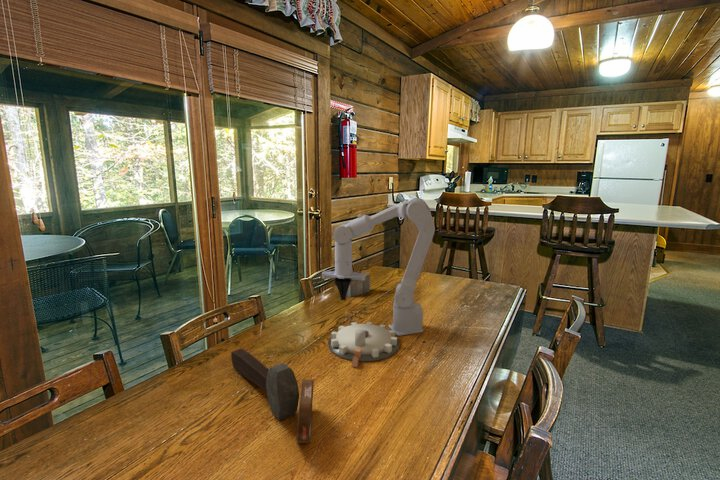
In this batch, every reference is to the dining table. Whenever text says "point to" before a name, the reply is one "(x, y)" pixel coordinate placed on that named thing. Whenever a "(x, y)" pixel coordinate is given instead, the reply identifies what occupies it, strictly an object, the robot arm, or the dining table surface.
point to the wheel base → (363, 358)
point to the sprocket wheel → (363, 339)
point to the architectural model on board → (359, 286)
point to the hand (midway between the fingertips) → (343, 299)
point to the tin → (305, 412)
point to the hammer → (270, 382)
